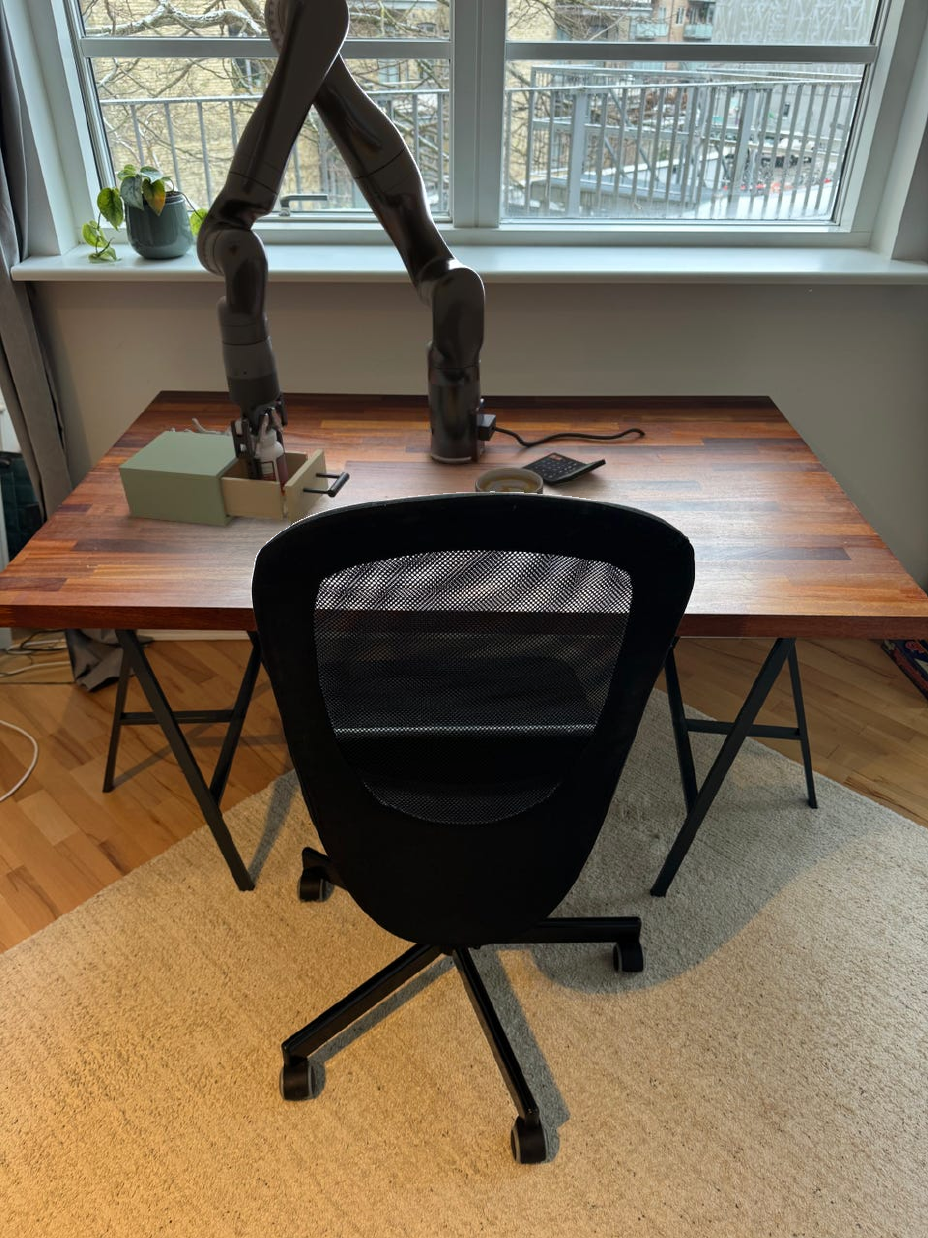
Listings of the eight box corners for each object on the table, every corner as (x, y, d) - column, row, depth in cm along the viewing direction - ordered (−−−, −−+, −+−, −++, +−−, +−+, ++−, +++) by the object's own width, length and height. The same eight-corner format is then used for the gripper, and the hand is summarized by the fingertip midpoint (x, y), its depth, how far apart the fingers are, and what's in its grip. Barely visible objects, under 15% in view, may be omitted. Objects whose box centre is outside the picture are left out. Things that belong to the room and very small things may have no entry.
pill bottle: (277, 484, 148) (266, 421, 142) (298, 495, 144) (288, 431, 138) (245, 496, 145) (233, 432, 138) (266, 508, 141) (254, 443, 135)
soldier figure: (192, 439, 172) (243, 424, 168) (192, 462, 171) (243, 448, 167) (164, 423, 165) (217, 407, 161) (164, 447, 164) (217, 432, 160)
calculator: (553, 456, 159) (554, 441, 157) (605, 475, 152) (606, 459, 150) (518, 473, 154) (518, 457, 152) (570, 493, 147) (571, 477, 145)
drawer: (359, 490, 148) (355, 452, 144) (330, 529, 137) (325, 489, 133) (243, 480, 152) (236, 442, 148) (206, 517, 141) (198, 477, 138)
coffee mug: (547, 555, 131) (549, 494, 125) (481, 561, 130) (480, 500, 124) (530, 513, 142) (531, 455, 136) (468, 518, 141) (467, 460, 135)
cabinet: (264, 485, 153) (255, 437, 148) (225, 526, 141) (215, 475, 136) (176, 477, 156) (165, 430, 151) (131, 516, 144) (117, 467, 139)
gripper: (253, 386, 126) (271, 489, 135) (292, 353, 137) (306, 451, 146) (205, 383, 127) (226, 485, 137) (248, 351, 139) (264, 447, 148)
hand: (267, 467), depth 142 cm, fingers open, 8 cm apart
